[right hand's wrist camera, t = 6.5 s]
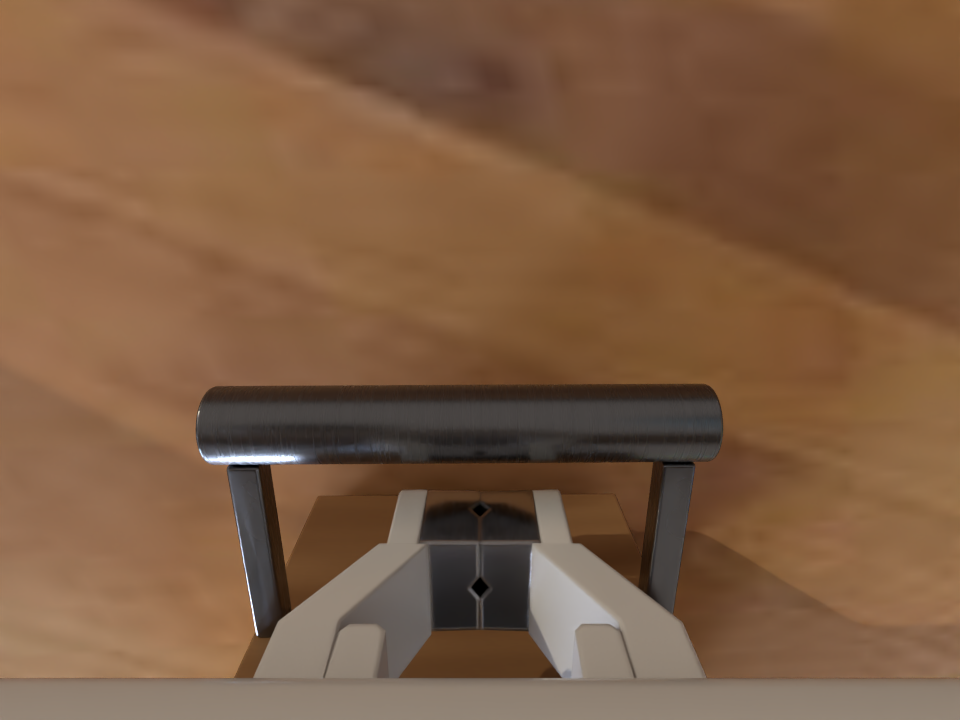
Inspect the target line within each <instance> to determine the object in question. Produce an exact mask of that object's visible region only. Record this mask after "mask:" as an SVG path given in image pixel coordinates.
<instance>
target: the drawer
mask: <svg viewBox="0 0 960 720" xmlns="http://www.w3.org/2000/svg"><path fill="white" fill-rule="evenodd" d="M722 437H723V418H722V411H721V406H720V403H719V400H718V397H717V395H716V393H715V392H714V390H713V389H712V388H711V387H710V386H708V385H706V384H568V385H363V386H216V387H213V388H211V389H209V390H208V391H207V392H206V394H205V395H204V397H203V398H202V401H201V403H200V406H199V409H198V413H197V419H196V440H197V445H198V449H199V452H200V454H201V456H202V458H203V459H204V460H205V461H206V462H207V463H209V464H212V465H229V466H228V467H227V475H228V480H229V486H230V491H231V497H232V502H233V508H234V514H235V519H236V525H237V530H238V536H239V541H240V547H241V552H242V558H243V564H244V569H245V575H246V580H247V586H248V591H249V597H250V602H251V608H252V614H253V619H254V625H255V630H256V631H255V634H254V636H253V638H252V640H251V642H250V644H249V647H248V649H247V651H246V653H245V655H244V657H243V660H242V662H241V664H240V666H239V668H238V670H237V673H236V675H235V677H234V678H253V677H254V675H255V672H256V670H257V668H258V666H259V663H260V661H261V659H262V657H263V654H264V652H265V650H266V648H267V645H268V643H269V641H270V639H271V636H272V634H273V632H274V630H275V627H276V625H277V623H278V621H279V620H281V619H282V618H283V617H284V616H286V615H287V614H288V613H290V612H291V611H292V610H293V609H295V608H296V607H297V606H299V605H300V604H301V603H303V602H304V601H305V600H306V599H308V598H309V597H310V596H312V595H313V594H314V593H316V592H317V591H318V590H319V589H321V588H322V587H323V586H325V585H326V584H327V583H329V582H330V581H331V580H332V579H334V578H335V577H336V576H338V575H339V574H340V573H342V572H343V571H344V570H345V569H347V568H348V567H349V566H351V565H352V564H353V563H355V562H356V561H357V560H358V559H360V558H361V557H362V556H364V555H365V554H366V553H368V552H369V551H370V550H371V549H373V548H374V547H375V546H377V545H378V544H379V543H387V541H388V537H389V533H390V529H391V525H392V520H393V516H394V512H395V508H396V504H397V500H398V496H399V495H383V496H318V497H317V499H316V502H315V504H314V506H313V508H312V510H311V512H310V515H309V517H308V519H307V521H306V523H305V525H304V528H303V530H302V532H301V534H300V536H299V538H298V541H297V543H296V545H295V547H294V549H293V551H292V554H291V556H290V558H289V560H288V562H287V564H286V567H285V562H284V555H283V548H282V542H281V535H280V528H279V522H278V515H277V508H276V501H275V495H274V488H273V481H272V474H271V468H270V464H416V463H572V462H653V469H652V477H651V486H650V494H649V502H648V510H647V519H646V527H645V535H644V543H643V552H642V557H641V554H640V552H639V550H638V547H637V545H636V543H635V540H634V538H633V536H632V533H631V531H630V529H629V526H628V524H627V521H626V519H625V517H624V514H623V512H622V510H621V507H620V505H619V503H618V500H617V498H616V495H615V494H561V497H562V501H563V505H564V509H565V513H566V517H567V521H568V525H569V529H570V533H571V537H572V541H573V543H581V544H582V545H583V546H585V547H586V548H587V549H589V550H590V551H591V552H592V553H594V554H595V555H596V556H598V557H599V558H600V559H602V560H603V561H604V562H605V563H607V564H608V565H609V566H611V567H612V568H613V569H614V570H616V571H617V572H618V573H620V574H621V575H622V576H623V577H625V578H626V579H627V580H629V581H630V582H631V583H633V584H634V585H635V586H636V587H638V588H639V589H640V590H642V591H643V592H644V593H645V594H647V595H648V596H649V597H651V598H652V599H653V600H655V601H656V602H657V603H658V604H660V605H661V606H662V607H664V608H665V609H666V610H667V611H669V612H670V613H671V614H673V611H674V604H675V597H676V591H677V584H678V577H679V571H680V564H681V558H682V551H683V544H684V538H685V531H686V525H687V518H688V511H689V505H690V498H691V491H692V485H693V478H694V472H695V464H694V462H708V461H711V460H713V459H714V458H715V457H716V456H717V454H718V452H719V450H720V447H721V443H722ZM399 678H562V677H561V676H560V675H559V673H558V672H557V671H556V669H555V668H554V667H553V665H552V664H551V663H550V661H549V660H548V659H547V657H546V656H545V655H544V653H543V652H542V651H541V649H540V648H539V647H538V645H537V644H536V643H535V641H534V640H533V639H532V637H531V636H530V635H529V631H498V630H460V631H431V635H430V637H429V638H428V639H427V641H426V642H425V643H424V645H423V646H422V647H421V649H420V650H419V651H418V653H417V654H416V655H415V657H414V658H413V659H412V661H411V662H410V663H409V664H408V666H407V667H406V668H405V670H404V671H403V672H402V674H401V675H400V676H399Z"/></svg>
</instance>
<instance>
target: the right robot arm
mask: <svg viewBox="0 0 960 720" xmlns="http://www.w3.org/2000/svg"><path fill="white" fill-rule="evenodd" d="M460 630H498V631H529V635H530V636H531V637H532V639H533V640H534V641H535V643H536V644H537V645H538V647H539V648H540V649H541V651H542V652H543V653H544V655H545V656H546V657H547V659H548V660H549V661H550V663H551V664H552V665H553V667H554V668H555V669H556V671H557V672H558V673H559V675H560V676H561V677H562V678H399V676H400V675H401V674H402V672H403V671H404V670H405V668H406V667H407V666H408V664H409V663H410V662H411V661H412V659H413V658H414V657H415V655H416V654H417V653H418V651H419V650H420V649H421V647H422V646H423V645H424V643H425V642H426V641H427V639H428V638H429V637H430V635H431V631H460ZM0 720H960V678H707V677H706V675H705V672H704V670H703V668H702V666H701V663H700V661H699V659H698V656H697V654H696V652H695V650H694V647H693V645H692V643H691V640H690V638H689V636H688V634H687V631H686V629H685V627H684V624H683V622H682V621H680V620H679V619H678V618H676V617H675V616H674V615H673V614H671V613H670V612H669V611H667V610H666V609H665V608H664V607H662V606H661V605H660V604H658V603H657V602H656V601H655V600H653V599H652V598H651V597H649V596H648V595H647V594H645V593H644V592H643V591H642V590H640V589H639V588H638V587H636V586H635V585H634V584H633V583H631V582H630V581H629V580H627V579H626V578H625V577H623V576H622V575H621V574H620V573H618V572H617V571H616V570H614V569H613V568H612V567H611V566H609V565H608V564H607V563H605V562H604V561H603V560H602V559H600V558H599V557H598V556H596V555H595V554H594V553H592V552H591V551H590V550H589V549H587V548H586V547H585V546H583V545H582V544H581V543H573V541H572V537H571V533H570V529H569V525H568V521H567V517H566V513H565V509H564V505H563V501H562V497H561V492H560V491H559V490H558V489H551V490H530V491H487V492H480V491H464V490H428V491H427V490H402V491H401V492H400V493H399V496H398V500H397V504H396V508H395V512H394V516H393V520H392V525H391V529H390V533H389V537H388V541H387V543H379V544H378V545H377V546H375V547H374V548H373V549H371V550H370V551H369V552H368V553H366V554H365V555H364V556H362V557H361V558H360V559H358V560H357V561H356V562H355V563H353V564H352V565H351V566H349V567H348V568H347V569H345V570H344V571H343V572H342V573H340V574H339V575H338V576H336V577H335V578H334V579H332V580H331V581H330V582H329V583H327V584H326V585H325V586H323V587H322V588H321V589H319V590H318V591H317V592H316V593H314V594H313V595H312V596H310V597H309V598H308V599H306V600H305V601H304V602H303V603H301V604H300V605H299V606H297V607H296V608H295V609H293V610H292V611H291V612H290V613H288V614H287V615H286V616H284V617H283V618H282V619H281V620H279V621H278V623H277V625H276V627H275V630H274V632H273V634H272V636H271V639H270V641H269V643H268V645H267V648H266V650H265V652H264V654H263V657H262V659H261V661H260V663H259V666H258V668H257V670H256V672H255V675H254V677H253V678H0Z"/></svg>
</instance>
